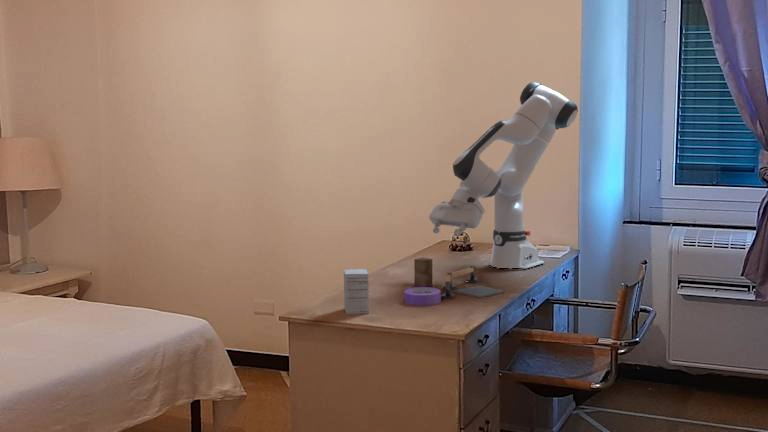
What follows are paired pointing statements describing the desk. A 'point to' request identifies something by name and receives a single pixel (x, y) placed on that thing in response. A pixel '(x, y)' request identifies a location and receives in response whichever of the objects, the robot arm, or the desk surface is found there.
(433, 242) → the desk surface
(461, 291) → the slate pad
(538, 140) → the robot arm
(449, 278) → the hinged wooden linkage
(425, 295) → the masking tape
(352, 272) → the supplement box
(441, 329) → the desk surface
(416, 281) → the tan stacked post
